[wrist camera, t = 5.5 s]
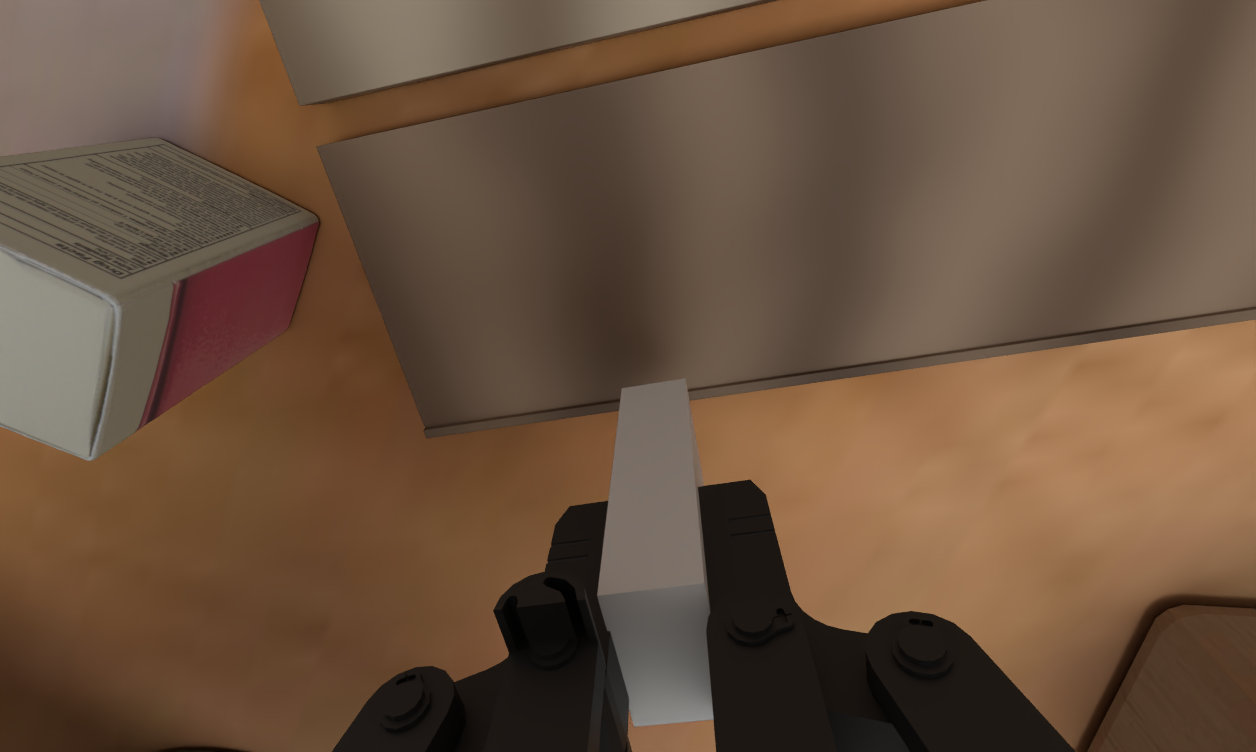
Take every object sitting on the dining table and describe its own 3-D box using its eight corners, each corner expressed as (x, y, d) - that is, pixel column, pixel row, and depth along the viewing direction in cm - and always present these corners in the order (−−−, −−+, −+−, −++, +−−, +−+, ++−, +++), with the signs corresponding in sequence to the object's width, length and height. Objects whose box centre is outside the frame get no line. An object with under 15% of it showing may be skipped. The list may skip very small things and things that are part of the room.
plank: (440, 417, 21) (426, 438, 20) (338, 141, 18) (313, 147, 16) (1262, 295, 18) (1305, 312, 17) (1354, -81, 14) (1418, -94, 13)
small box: (136, 261, 20) (-165, 368, 13) (157, 130, 18) (-178, 170, 11) (292, 334, 21) (91, 472, 13) (327, 215, 19) (117, 303, 12)
